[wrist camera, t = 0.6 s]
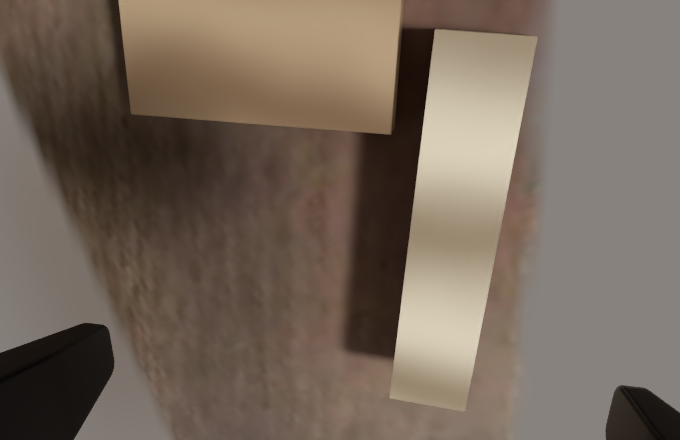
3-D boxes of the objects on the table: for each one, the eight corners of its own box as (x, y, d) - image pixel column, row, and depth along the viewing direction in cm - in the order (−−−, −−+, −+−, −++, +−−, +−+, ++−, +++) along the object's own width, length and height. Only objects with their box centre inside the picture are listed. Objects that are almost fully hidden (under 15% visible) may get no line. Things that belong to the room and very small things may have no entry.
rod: (462, 365, 23) (464, 411, 20) (396, 354, 23) (389, 398, 21) (523, 34, 18) (537, 36, 15) (436, 28, 18) (434, 29, 16)
